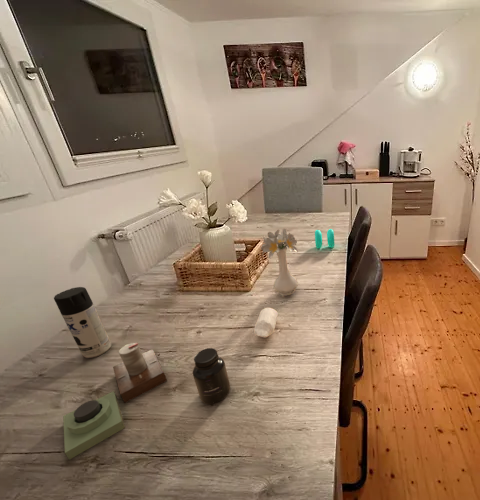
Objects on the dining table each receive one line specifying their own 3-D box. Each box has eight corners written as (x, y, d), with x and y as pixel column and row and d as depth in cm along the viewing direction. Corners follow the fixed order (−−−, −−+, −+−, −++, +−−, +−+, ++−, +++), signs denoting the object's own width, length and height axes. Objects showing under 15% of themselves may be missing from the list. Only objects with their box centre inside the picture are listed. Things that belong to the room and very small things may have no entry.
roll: (252, 346, 83) (249, 331, 81) (261, 321, 94) (258, 307, 92) (273, 345, 83) (270, 330, 81) (279, 320, 94) (276, 306, 92)
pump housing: (67, 422, 62) (59, 410, 61) (117, 397, 68) (111, 385, 67) (69, 459, 55) (60, 447, 54) (125, 427, 61) (118, 415, 59)
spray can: (78, 355, 82) (46, 297, 74) (104, 340, 87) (77, 284, 80) (91, 361, 79) (60, 301, 71) (117, 345, 85) (91, 288, 77)
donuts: (316, 244, 156) (314, 227, 152) (333, 243, 157) (333, 226, 153) (316, 251, 147) (314, 233, 143) (334, 250, 148) (334, 232, 144)
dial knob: (130, 378, 70) (119, 355, 67) (127, 369, 72) (116, 347, 69) (148, 369, 72) (139, 347, 69) (145, 361, 75) (136, 339, 72)
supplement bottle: (211, 410, 64) (199, 371, 59) (194, 397, 68) (181, 359, 63) (237, 388, 70) (227, 351, 65) (220, 377, 73) (209, 341, 68)
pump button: (76, 414, 60) (72, 408, 60) (100, 402, 63) (97, 396, 62) (77, 426, 58) (74, 421, 57) (102, 413, 60) (99, 408, 60)
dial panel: (116, 375, 74) (112, 366, 73) (155, 356, 80) (152, 348, 79) (124, 403, 67) (120, 394, 65) (167, 380, 72) (163, 371, 71)
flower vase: (300, 278, 121) (294, 222, 111) (304, 301, 104) (297, 238, 95) (269, 282, 118) (260, 226, 108) (268, 306, 102) (257, 243, 92)
